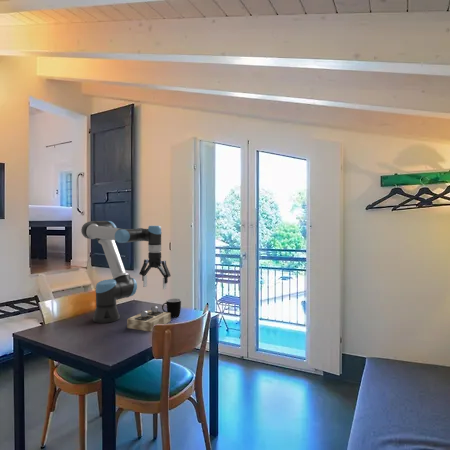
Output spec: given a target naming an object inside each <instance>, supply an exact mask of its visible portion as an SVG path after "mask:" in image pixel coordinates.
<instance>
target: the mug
mask: <svg viewBox="0 0 450 450" xmlns="http://www.w3.org/2000/svg"><path fill="white" fill-rule="evenodd" d="M165 305H166V310H165V309H164V306H165ZM181 306H182V300H181V299H180V298H168V299H167V300H166V301H165V302H164V303H163V304H162V305H161V310H162V312H168V313H171V318H172V319H173V318H178V317H180V313H181Z"/></svg>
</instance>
